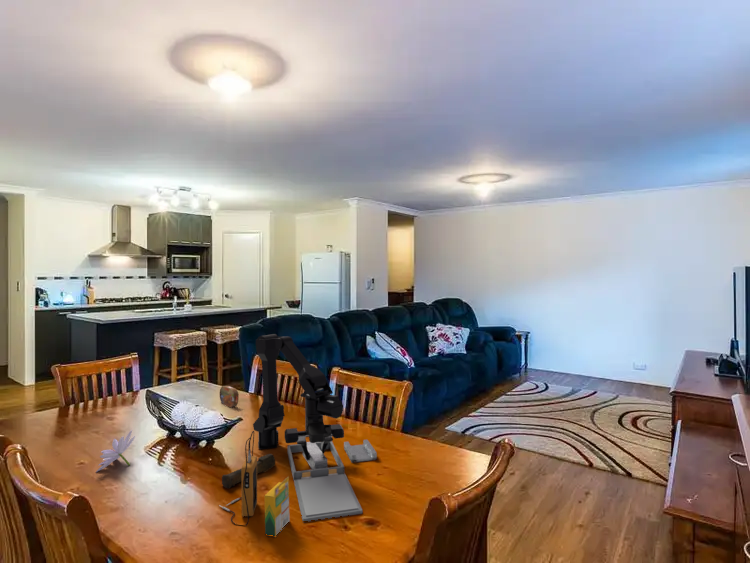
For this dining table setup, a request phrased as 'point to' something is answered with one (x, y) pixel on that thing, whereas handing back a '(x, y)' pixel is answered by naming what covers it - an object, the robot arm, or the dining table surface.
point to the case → (323, 489)
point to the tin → (229, 396)
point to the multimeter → (248, 484)
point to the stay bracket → (360, 452)
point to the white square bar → (315, 456)
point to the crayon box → (277, 508)
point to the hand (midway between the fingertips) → (314, 459)
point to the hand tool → (236, 477)
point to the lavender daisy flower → (116, 451)
